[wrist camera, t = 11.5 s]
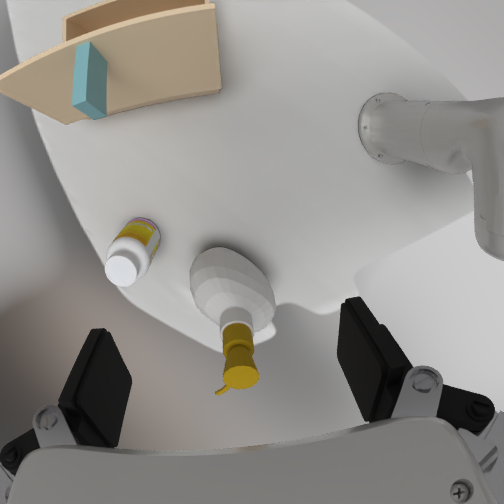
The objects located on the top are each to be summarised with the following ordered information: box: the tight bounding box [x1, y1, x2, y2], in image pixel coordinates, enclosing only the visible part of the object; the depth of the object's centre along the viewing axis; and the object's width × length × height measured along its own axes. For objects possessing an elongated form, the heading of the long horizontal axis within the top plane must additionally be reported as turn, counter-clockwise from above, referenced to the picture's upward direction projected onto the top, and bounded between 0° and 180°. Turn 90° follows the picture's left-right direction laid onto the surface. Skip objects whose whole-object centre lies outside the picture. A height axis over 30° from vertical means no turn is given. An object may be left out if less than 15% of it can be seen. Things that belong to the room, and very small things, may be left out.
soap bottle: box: [190, 247, 276, 395], centre depth 41 cm, size 14×9×26 cm, turn 56°
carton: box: [63, 0, 220, 119], centre depth 32 cm, size 20×16×10 cm
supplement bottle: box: [105, 218, 160, 287], centre depth 43 cm, size 7×7×13 cm
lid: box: [0, 3, 222, 125], centre depth 24 cm, size 21×16×6 cm
